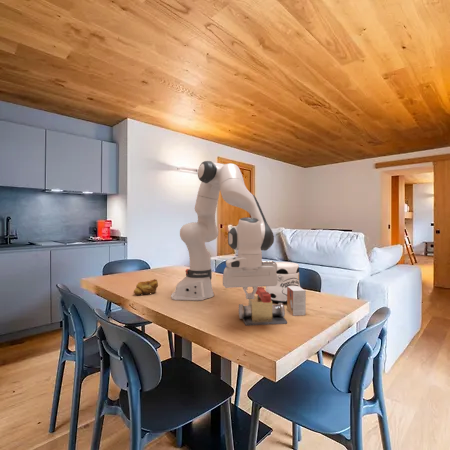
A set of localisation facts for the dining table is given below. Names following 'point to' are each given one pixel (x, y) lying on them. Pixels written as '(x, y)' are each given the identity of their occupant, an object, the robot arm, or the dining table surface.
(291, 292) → the small box
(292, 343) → the dining table surface
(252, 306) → the valve
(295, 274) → the milk container
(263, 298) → the lever
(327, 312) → the dining table surface
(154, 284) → the bread roll
